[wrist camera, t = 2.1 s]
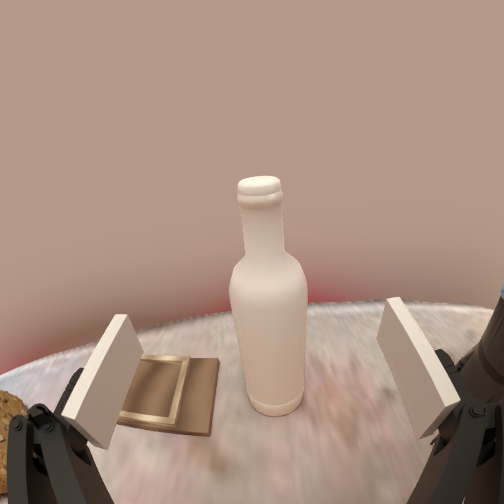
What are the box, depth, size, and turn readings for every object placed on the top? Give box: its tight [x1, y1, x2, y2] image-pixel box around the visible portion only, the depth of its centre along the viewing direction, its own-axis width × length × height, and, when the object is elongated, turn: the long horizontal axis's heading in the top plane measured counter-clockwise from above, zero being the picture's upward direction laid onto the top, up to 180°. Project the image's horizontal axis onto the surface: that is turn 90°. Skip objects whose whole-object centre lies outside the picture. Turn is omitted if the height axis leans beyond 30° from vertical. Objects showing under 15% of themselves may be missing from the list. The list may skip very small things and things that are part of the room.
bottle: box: [229, 176, 308, 416], centre depth 29 cm, size 8×8×30 cm
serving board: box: [116, 355, 219, 436], centre depth 36 cm, size 22×14×2 cm, turn 89°
